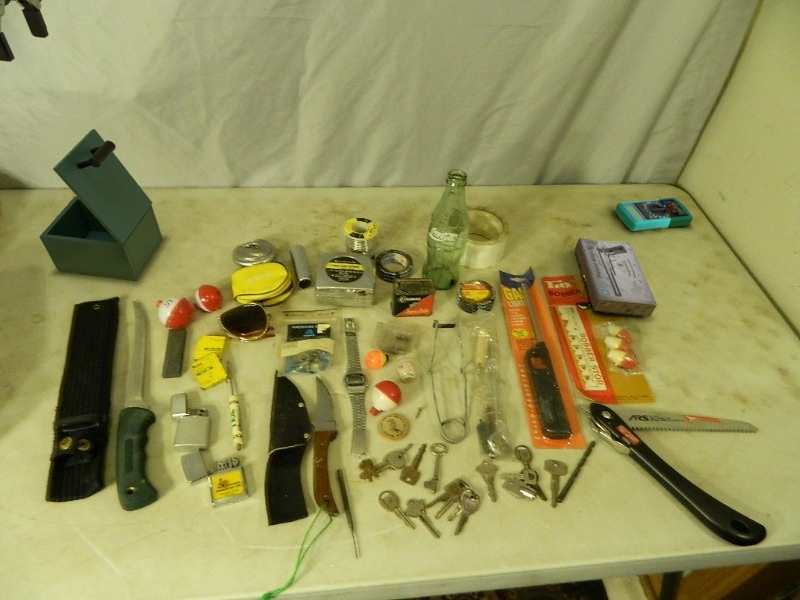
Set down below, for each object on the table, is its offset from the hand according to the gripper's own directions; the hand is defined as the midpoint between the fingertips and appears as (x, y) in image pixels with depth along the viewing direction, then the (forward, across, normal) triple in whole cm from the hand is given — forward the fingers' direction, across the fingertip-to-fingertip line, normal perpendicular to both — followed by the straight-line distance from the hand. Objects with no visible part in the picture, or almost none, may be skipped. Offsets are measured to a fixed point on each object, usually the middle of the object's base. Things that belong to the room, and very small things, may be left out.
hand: (24, 48), depth 76 cm
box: (+32, 0, +96) cm, 101 cm away
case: (+32, +8, +6) cm, 33 cm away
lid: (+17, +8, +10) cm, 21 cm away
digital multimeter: (+32, -22, +108) cm, 115 cm away
